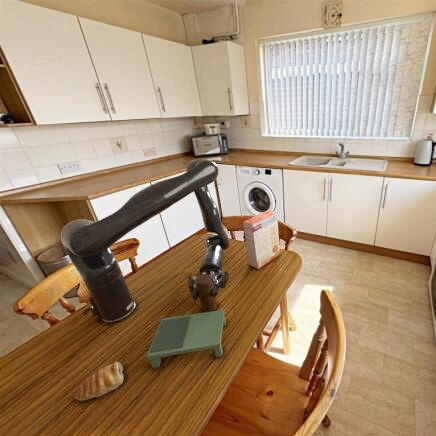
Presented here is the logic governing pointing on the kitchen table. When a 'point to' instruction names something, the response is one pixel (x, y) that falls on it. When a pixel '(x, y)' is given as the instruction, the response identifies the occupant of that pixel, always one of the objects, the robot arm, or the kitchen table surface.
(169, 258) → the kitchen table surface
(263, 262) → the cracker box
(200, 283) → the pepper mill
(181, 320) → the stand
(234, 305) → the kitchen table surface
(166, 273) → the kitchen table surface
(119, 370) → the pastry
